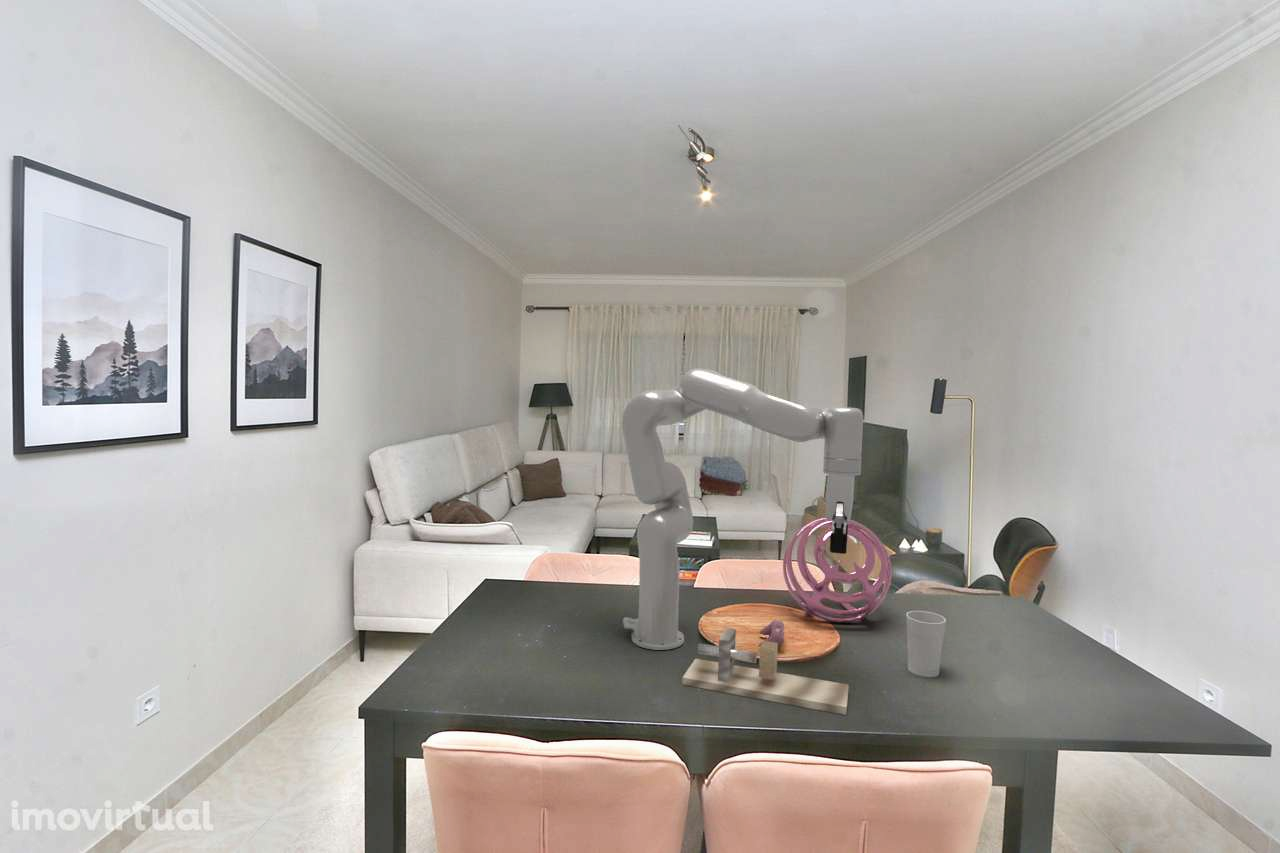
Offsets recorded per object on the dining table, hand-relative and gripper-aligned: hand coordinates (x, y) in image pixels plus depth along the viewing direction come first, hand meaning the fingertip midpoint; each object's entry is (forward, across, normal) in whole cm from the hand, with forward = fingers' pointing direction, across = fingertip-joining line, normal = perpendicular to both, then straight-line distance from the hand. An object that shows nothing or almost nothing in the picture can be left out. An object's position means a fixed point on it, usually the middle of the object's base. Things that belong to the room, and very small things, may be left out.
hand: (838, 547), depth 135 cm
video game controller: (+28, -12, -15) cm, 34 cm away
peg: (+25, +11, -19) cm, 33 cm away
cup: (+28, -10, +18) cm, 35 cm away
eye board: (+28, +11, -13) cm, 33 cm away
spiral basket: (+28, -38, -1) cm, 47 cm away
